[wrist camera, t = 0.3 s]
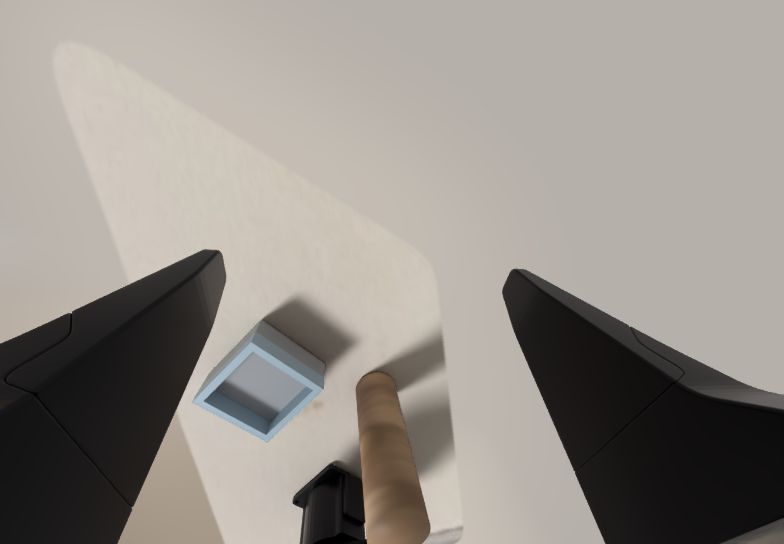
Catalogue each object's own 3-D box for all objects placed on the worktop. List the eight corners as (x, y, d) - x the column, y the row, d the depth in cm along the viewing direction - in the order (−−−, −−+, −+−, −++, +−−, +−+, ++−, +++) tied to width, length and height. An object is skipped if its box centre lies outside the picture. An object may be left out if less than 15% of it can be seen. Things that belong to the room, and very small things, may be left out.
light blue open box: (275, 411, 30) (267, 442, 27) (209, 373, 27) (191, 402, 24) (325, 363, 29) (323, 389, 26) (261, 319, 26) (250, 342, 23)
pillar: (375, 410, 32) (397, 562, 20) (347, 391, 31) (353, 542, 18) (403, 386, 31) (442, 526, 19) (375, 365, 30) (400, 503, 18)
